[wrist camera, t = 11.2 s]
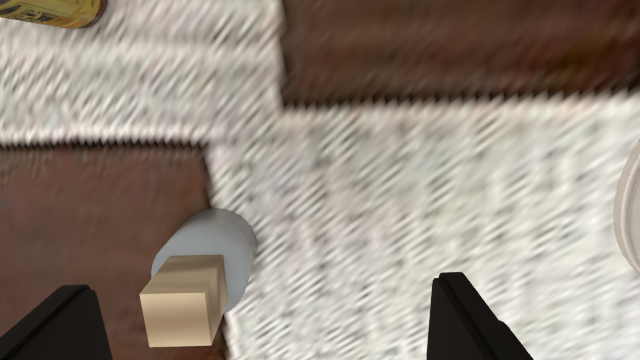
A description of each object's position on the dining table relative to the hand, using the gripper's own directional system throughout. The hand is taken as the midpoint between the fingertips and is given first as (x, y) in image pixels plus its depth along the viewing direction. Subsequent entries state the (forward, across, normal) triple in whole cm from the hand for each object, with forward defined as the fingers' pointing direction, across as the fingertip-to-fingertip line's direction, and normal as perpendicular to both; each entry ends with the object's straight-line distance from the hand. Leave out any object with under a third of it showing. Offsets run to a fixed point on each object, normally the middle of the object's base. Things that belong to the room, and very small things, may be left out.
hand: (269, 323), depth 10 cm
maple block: (+21, +10, +12) cm, 26 cm away
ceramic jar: (+28, +10, +12) cm, 32 cm away
